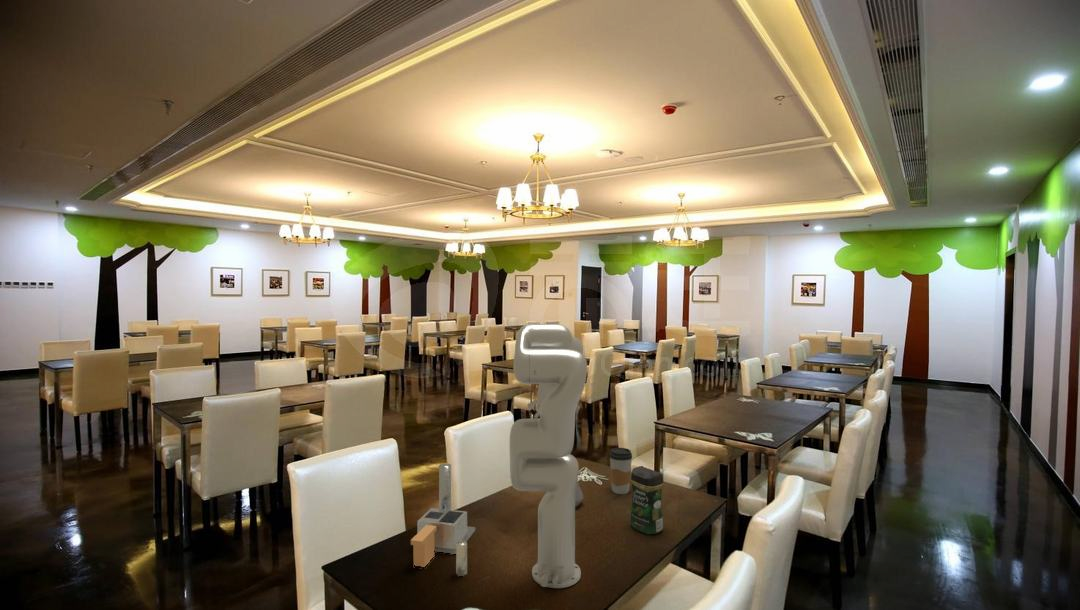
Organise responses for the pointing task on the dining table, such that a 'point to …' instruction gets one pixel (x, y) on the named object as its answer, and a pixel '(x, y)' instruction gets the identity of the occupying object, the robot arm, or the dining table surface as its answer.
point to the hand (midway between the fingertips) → (553, 430)
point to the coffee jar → (646, 500)
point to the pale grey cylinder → (461, 558)
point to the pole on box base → (446, 517)
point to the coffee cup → (620, 470)
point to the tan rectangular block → (423, 545)
